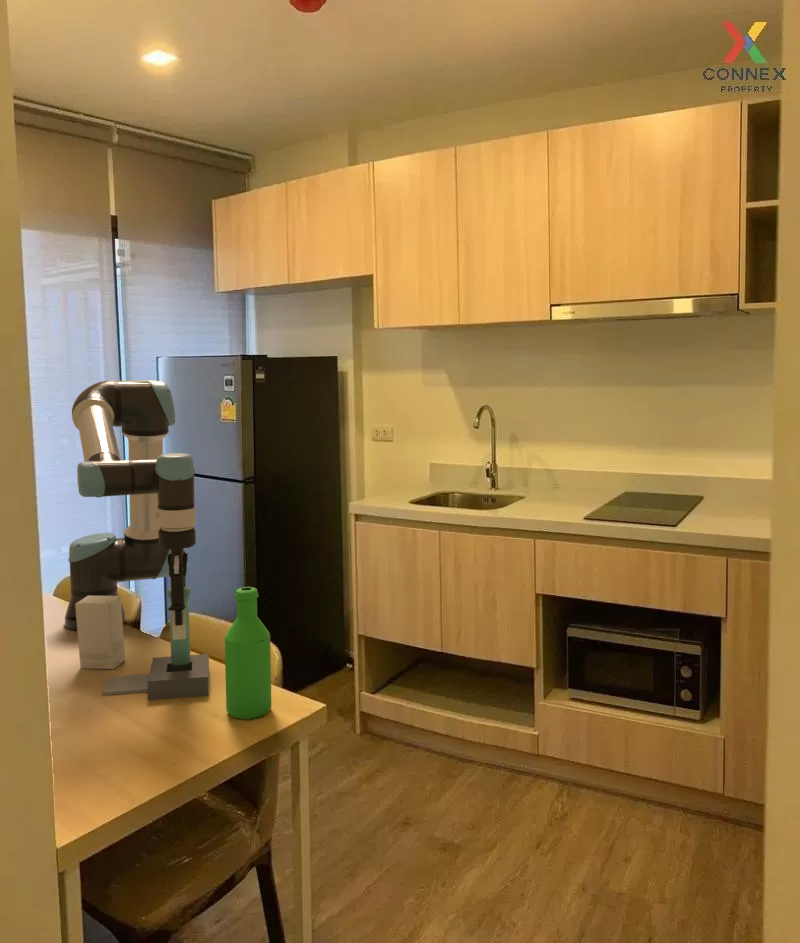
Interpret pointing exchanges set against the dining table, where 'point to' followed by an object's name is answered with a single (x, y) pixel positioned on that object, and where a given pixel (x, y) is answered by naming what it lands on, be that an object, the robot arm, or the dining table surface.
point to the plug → (180, 646)
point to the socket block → (178, 678)
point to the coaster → (126, 684)
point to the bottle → (247, 660)
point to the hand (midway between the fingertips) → (180, 634)
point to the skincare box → (100, 632)
